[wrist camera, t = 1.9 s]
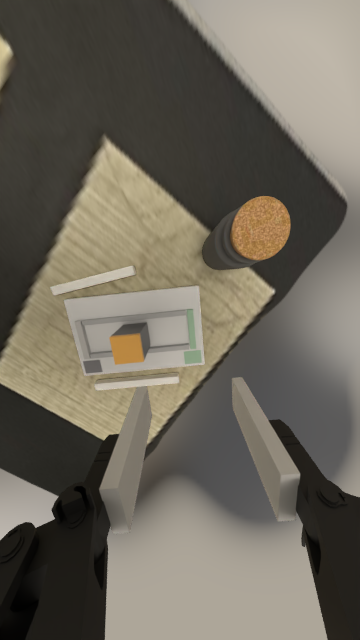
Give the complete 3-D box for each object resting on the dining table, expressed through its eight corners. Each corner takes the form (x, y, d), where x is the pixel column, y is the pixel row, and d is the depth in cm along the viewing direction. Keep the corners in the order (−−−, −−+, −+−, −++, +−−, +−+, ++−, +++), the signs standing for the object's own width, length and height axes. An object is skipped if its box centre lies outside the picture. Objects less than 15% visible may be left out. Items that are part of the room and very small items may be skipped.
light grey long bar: (99, 386, 35) (95, 390, 34) (97, 379, 35) (94, 384, 33) (179, 378, 35) (179, 382, 33) (178, 372, 34) (178, 376, 33)
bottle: (238, 267, 29) (296, 262, 15) (203, 272, 29) (226, 270, 15) (237, 229, 28) (300, 181, 13) (200, 234, 28) (223, 191, 13)
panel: (89, 370, 34) (82, 378, 31) (70, 298, 30) (60, 300, 28) (203, 359, 34) (205, 366, 31) (197, 285, 30) (199, 286, 27)
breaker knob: (127, 346, 30) (115, 364, 24) (123, 324, 29) (109, 337, 23) (150, 344, 30) (143, 361, 24) (147, 322, 29) (139, 334, 23)
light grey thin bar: (59, 294, 30) (53, 295, 29) (55, 286, 30) (49, 287, 28) (137, 274, 29) (135, 274, 28) (134, 265, 29) (132, 265, 28)
